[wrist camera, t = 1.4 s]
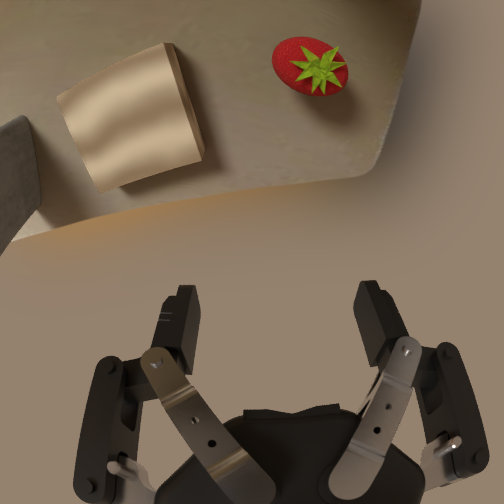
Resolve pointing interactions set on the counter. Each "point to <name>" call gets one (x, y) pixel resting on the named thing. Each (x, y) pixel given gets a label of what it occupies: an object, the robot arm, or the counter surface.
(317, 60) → the strawberry
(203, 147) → the plinth
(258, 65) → the counter surface
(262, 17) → the counter surface
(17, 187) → the hip flask
